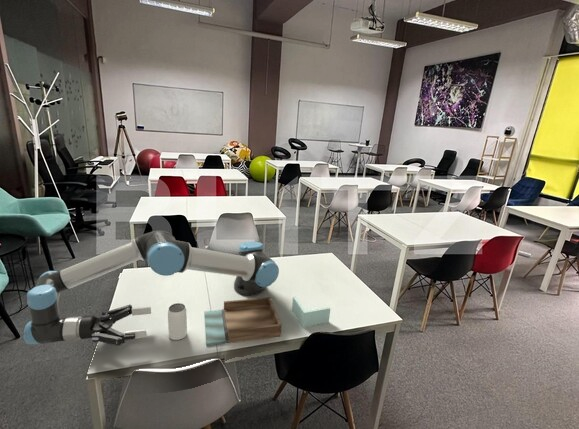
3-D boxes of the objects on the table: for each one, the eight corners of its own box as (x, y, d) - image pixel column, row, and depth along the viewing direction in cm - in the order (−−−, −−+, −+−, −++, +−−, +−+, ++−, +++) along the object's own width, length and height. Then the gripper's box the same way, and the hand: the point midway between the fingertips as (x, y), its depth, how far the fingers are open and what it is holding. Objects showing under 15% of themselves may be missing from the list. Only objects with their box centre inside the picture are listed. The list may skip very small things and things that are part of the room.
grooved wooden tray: (204, 313, 134) (204, 303, 133) (269, 306, 142) (270, 297, 141) (206, 345, 116) (206, 334, 115) (280, 336, 124) (281, 325, 123)
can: (172, 328, 124) (171, 301, 120) (189, 330, 124) (188, 303, 120) (166, 340, 118) (164, 312, 114) (183, 341, 117) (182, 313, 114)
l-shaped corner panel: (328, 323, 135) (330, 308, 133) (302, 328, 131) (304, 313, 128) (316, 307, 146) (317, 293, 143) (291, 311, 141) (292, 297, 139)
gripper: (92, 315, 122) (153, 310, 128) (70, 363, 99) (144, 353, 105) (90, 298, 120) (152, 293, 126) (66, 343, 97) (143, 334, 103)
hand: (148, 321), depth 116 cm, fingers open, 13 cm apart
